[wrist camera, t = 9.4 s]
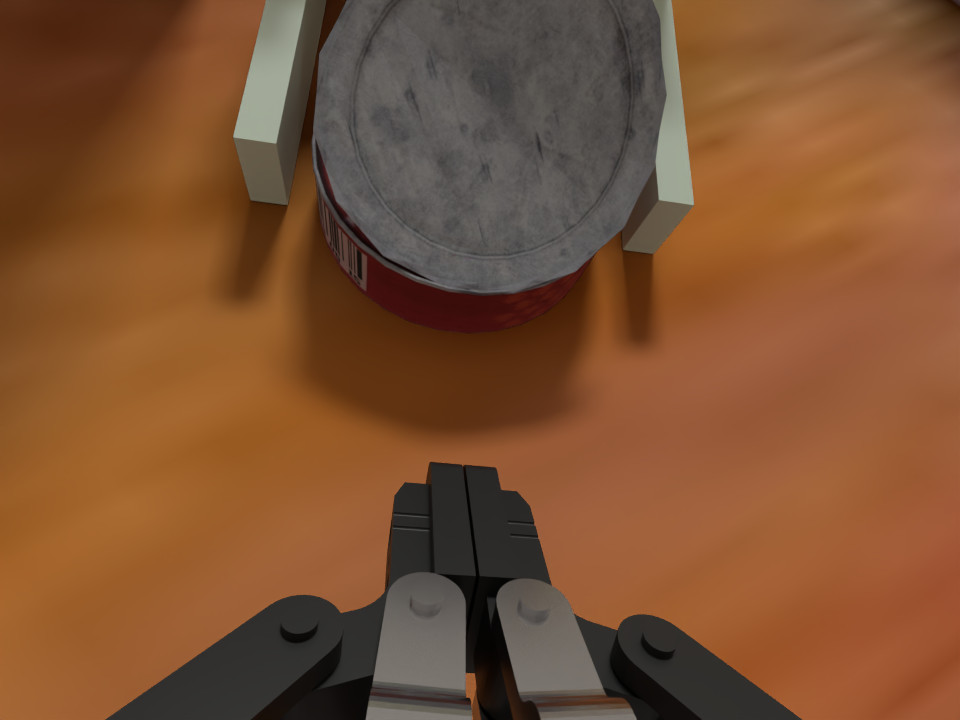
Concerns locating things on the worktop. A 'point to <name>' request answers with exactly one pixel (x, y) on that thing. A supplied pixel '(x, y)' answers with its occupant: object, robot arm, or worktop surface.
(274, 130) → the rack
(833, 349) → the worktop surface
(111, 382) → the worktop surface
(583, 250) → the canned food
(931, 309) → the worktop surface
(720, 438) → the worktop surface
